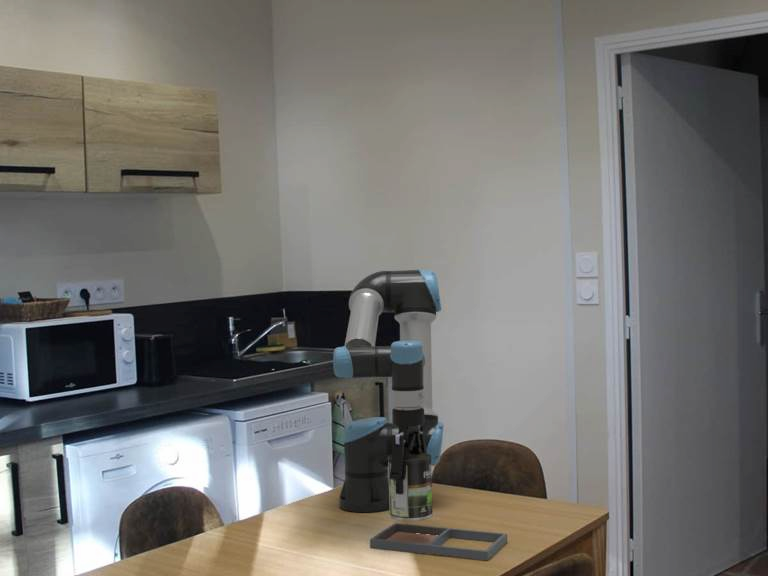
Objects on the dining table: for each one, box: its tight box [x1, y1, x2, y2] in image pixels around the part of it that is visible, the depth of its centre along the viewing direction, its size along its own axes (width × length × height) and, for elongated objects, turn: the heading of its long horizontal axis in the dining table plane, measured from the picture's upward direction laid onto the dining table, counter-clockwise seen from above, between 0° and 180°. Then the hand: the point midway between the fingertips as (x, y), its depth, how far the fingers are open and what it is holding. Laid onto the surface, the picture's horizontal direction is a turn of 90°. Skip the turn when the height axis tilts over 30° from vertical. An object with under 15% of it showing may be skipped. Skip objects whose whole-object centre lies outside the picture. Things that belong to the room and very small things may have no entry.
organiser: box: [369, 522, 508, 562], centre depth 227 cm, size 15×28×2 cm, turn 66°
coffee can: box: [387, 453, 434, 522], centre depth 230 cm, size 10×10×14 cm
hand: (410, 501), depth 230 cm, fingers closed on coffee can, 10 cm apart
